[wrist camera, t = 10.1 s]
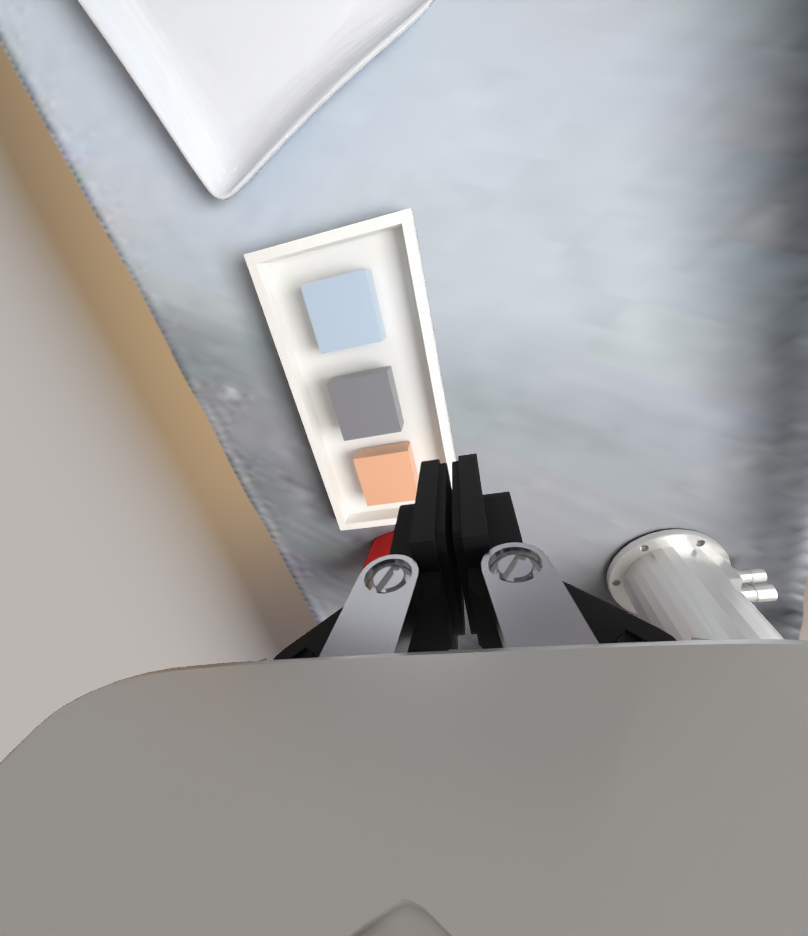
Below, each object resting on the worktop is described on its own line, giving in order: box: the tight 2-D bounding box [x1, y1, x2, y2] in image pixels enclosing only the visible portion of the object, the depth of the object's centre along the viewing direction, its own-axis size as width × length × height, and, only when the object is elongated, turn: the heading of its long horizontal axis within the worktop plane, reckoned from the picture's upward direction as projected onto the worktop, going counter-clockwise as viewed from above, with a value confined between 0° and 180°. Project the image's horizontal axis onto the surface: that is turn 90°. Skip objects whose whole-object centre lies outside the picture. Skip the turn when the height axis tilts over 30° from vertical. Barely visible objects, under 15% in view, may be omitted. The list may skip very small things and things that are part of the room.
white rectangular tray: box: [244, 208, 456, 530], centre depth 37 cm, size 14×28×3 cm, turn 12°
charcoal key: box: [326, 366, 404, 441], centre depth 35 cm, size 6×6×2 cm
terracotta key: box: [353, 441, 419, 506], centre depth 40 cm, size 6×6×2 cm
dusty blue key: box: [300, 269, 386, 354], centre depth 33 cm, size 6×6×2 cm
